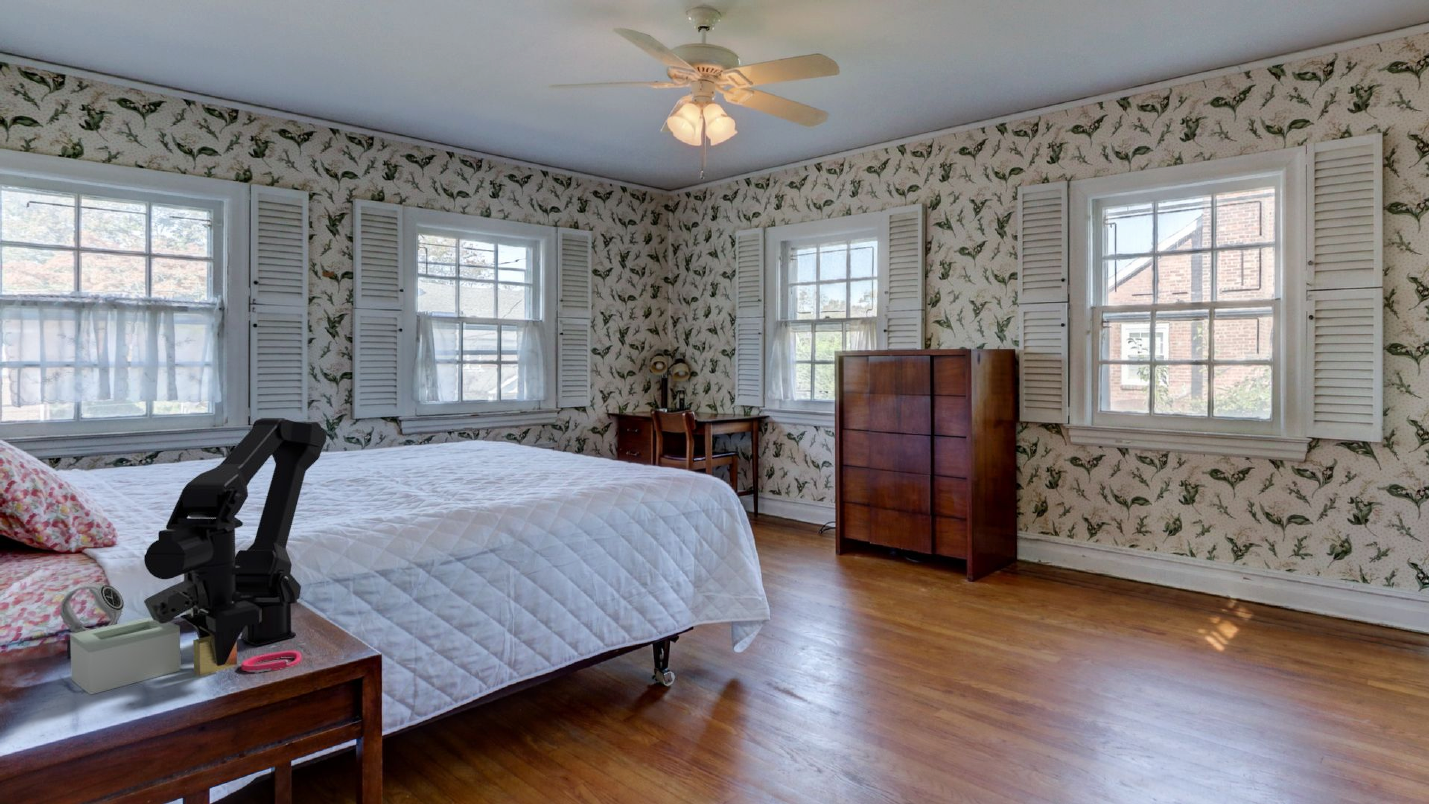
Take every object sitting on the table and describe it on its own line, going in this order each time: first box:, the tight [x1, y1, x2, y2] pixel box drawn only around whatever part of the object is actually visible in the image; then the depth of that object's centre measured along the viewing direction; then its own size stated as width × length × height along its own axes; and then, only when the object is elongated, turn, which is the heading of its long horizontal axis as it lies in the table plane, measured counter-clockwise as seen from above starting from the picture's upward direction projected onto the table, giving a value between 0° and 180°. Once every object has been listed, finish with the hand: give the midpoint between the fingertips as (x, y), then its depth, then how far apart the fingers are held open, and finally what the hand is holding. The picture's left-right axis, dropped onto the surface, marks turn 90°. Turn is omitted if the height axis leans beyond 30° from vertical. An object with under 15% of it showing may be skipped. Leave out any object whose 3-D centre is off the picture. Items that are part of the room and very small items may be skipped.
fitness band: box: [241, 650, 302, 674], centre depth 118 cm, size 8×6×2 cm
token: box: [192, 636, 238, 677], centre depth 116 cm, size 5×2×5 cm, turn 143°
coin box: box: [69, 616, 182, 695], centre depth 114 cm, size 11×9×7 cm
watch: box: [59, 582, 125, 660], centre depth 123 cm, size 6×8×11 cm
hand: (215, 662), depth 117 cm, fingers open, 4 cm apart
